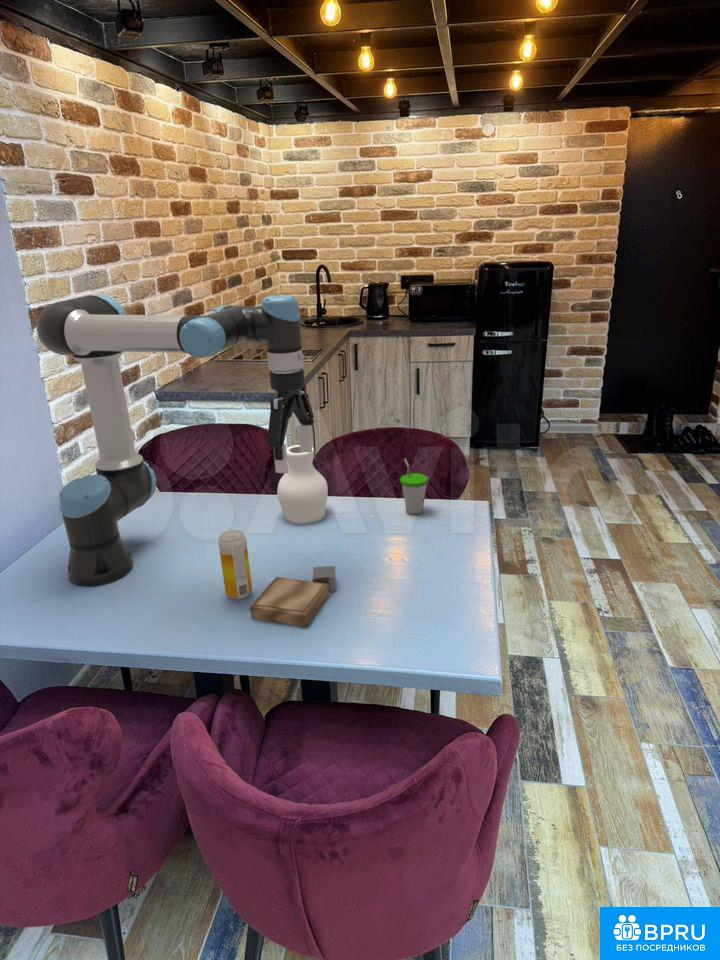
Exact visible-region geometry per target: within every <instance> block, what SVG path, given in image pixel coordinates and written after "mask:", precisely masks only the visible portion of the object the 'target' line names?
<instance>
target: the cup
mask: <svg viewBox="0 0 720 960" xmlns="http://www.w3.org/2000/svg"><path fill="white" fill-rule="evenodd" d="M403 461H404V462H405V464H406V467H407V468H406V469H407V473H405V474H403V475H402V476H400V479H399V483H400V484H401V489H402V493H403V498H404V499H403V500H404V505H405V510H406V513H407V514H408V515H410V516H416V517H417V516H420V515H422V514H423V512H424V506H425V498H426V497H425V496H426V492H427V491H426V490H427V484H428V483H429V477H428V476H427V475H425V474H422V473H415V472H414V473H412V472H411V473H410V464H409V462H408V460H407V458H404V459H403Z"/></svg>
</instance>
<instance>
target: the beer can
mask: <svg viewBox="0 0 720 960" xmlns="http://www.w3.org/2000/svg"><path fill="white" fill-rule="evenodd" d="M244 533H245V532H243V531H242V530H239V529H233V530H226V531H224V532H222V533H221V534H219V538H218V540H217V541H218V548H219V549H218V550H219V554H220V555H219V556H220V563H221V570H222V577H223V585H224V591H225V595H226V596H227V597H228V598H229V599H231V600H244V599H246V598H248V597H249V595H251V593H252V591H253V585H252V584H253V583H252V576H251V568H250V560H249V552H248V543H247V537H246V535H245V534H244Z"/></svg>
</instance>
